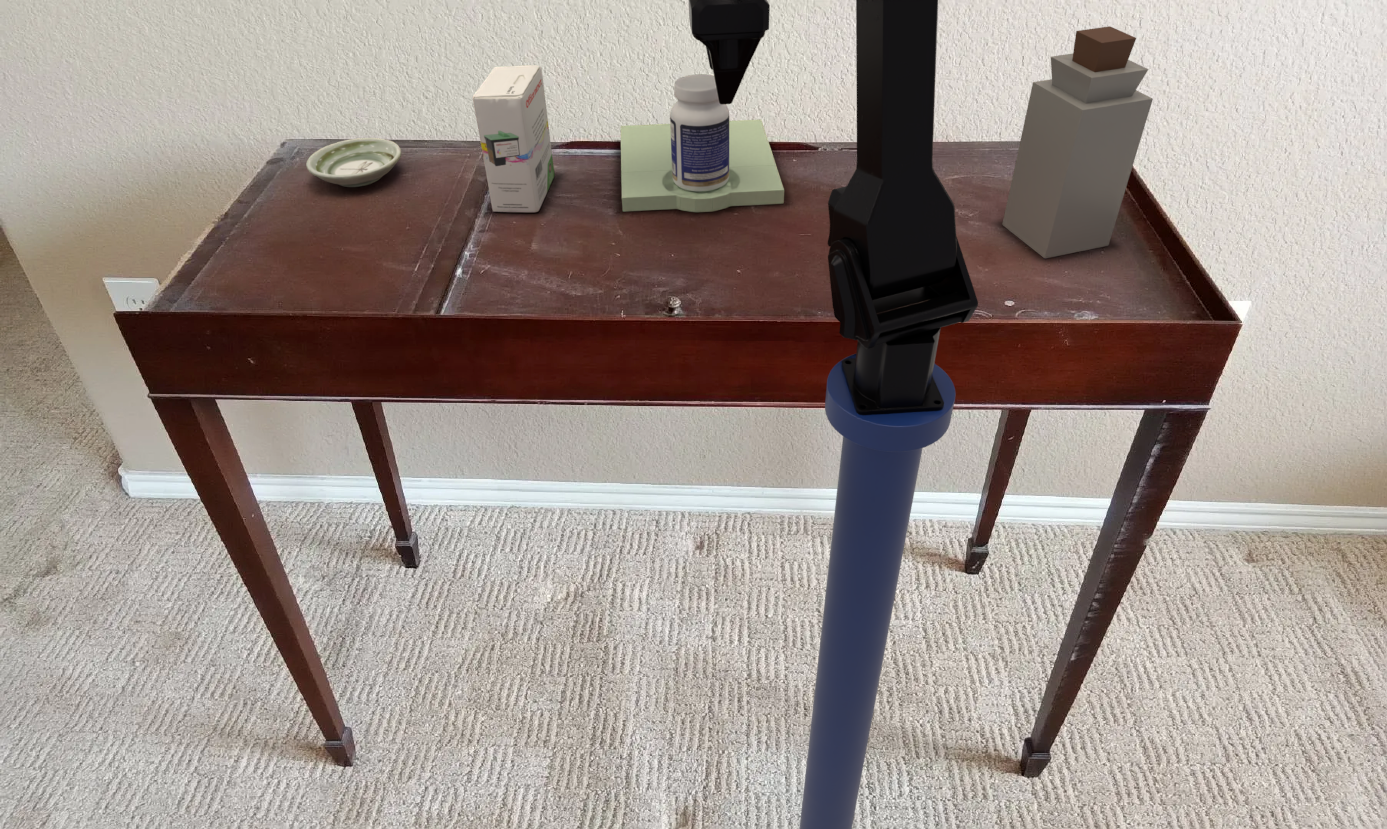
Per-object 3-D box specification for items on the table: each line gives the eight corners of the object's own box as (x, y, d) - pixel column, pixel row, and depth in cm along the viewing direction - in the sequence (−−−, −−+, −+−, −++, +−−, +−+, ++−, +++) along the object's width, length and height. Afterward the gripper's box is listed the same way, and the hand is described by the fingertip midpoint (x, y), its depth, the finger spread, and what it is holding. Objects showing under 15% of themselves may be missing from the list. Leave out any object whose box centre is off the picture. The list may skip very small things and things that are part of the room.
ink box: (510, 175, 97) (492, 62, 90) (556, 176, 97) (542, 62, 89) (490, 212, 91) (469, 94, 83) (539, 213, 90) (522, 95, 83)
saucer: (322, 160, 101) (316, 139, 100) (411, 155, 102) (406, 134, 100) (303, 200, 94) (296, 178, 92) (399, 194, 94) (393, 171, 93)
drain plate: (785, 208, 90) (785, 194, 89) (622, 216, 90) (621, 202, 89) (761, 131, 105) (761, 118, 104) (621, 138, 104) (620, 125, 103)
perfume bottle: (1063, 213, 88) (1114, 17, 77) (1108, 245, 83) (1170, 41, 72) (1002, 224, 87) (1044, 27, 75) (1044, 258, 82) (1097, 52, 70)
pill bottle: (741, 179, 92) (742, 80, 86) (702, 199, 89) (701, 97, 82) (699, 163, 95) (697, 66, 89) (660, 182, 92) (655, 82, 86)
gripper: (619, -123, 81) (631, 57, 91) (621, -79, 67) (635, 128, 77) (743, -128, 82) (742, 51, 92) (773, -86, 67) (767, 122, 77)
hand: (720, 85), depth 84 cm, fingers open, 9 cm apart
